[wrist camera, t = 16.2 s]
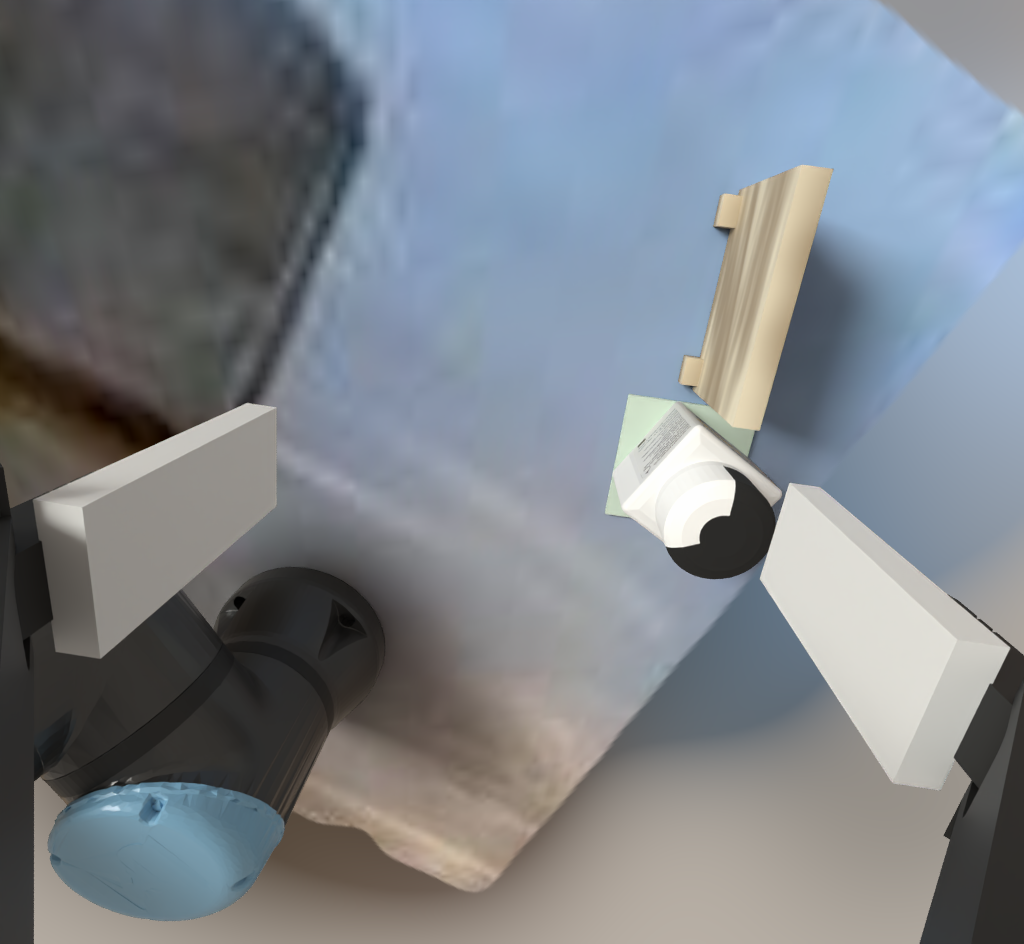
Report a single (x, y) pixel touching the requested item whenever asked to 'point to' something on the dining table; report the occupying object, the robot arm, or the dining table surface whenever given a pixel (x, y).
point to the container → (698, 496)
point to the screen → (756, 291)
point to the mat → (647, 414)
